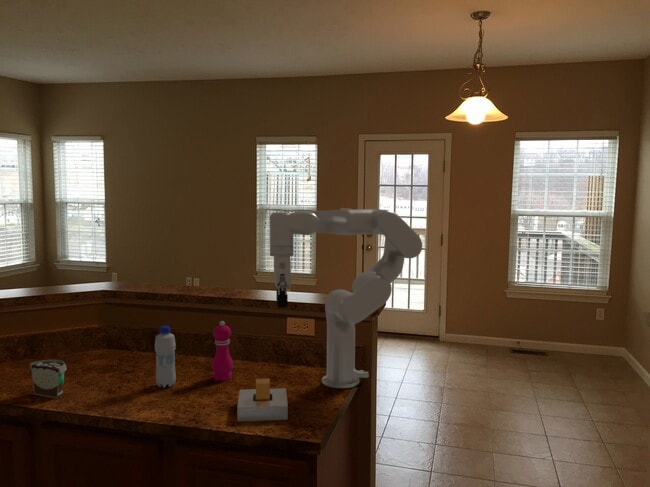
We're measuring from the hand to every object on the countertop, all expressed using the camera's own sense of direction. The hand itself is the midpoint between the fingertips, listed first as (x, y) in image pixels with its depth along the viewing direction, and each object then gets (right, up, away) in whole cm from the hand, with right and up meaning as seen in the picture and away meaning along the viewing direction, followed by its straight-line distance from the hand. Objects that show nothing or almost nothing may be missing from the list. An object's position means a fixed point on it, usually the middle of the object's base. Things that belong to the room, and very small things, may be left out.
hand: (281, 304), depth 174 cm
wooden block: (-4, -30, -15) cm, 34 cm away
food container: (-72, -28, -2) cm, 77 cm away
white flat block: (-4, -30, -15) cm, 33 cm away
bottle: (-39, -28, +5) cm, 48 cm away
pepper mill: (-22, -27, +13) cm, 37 cm away
